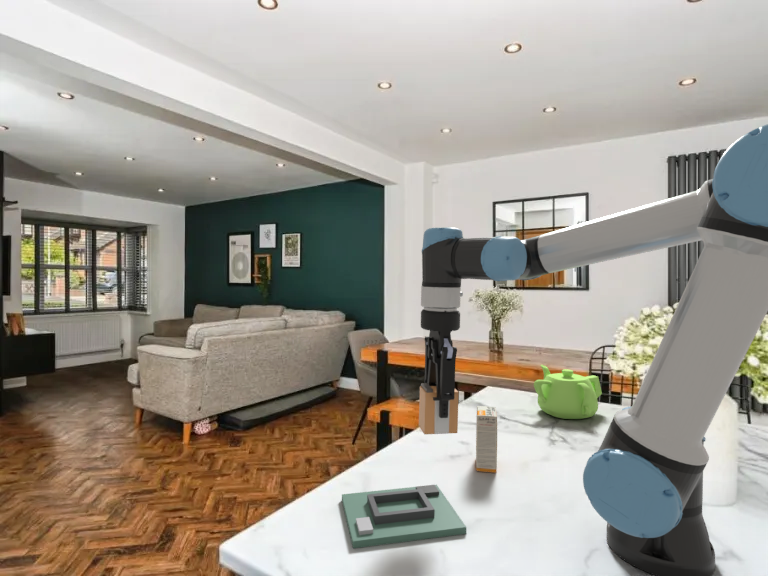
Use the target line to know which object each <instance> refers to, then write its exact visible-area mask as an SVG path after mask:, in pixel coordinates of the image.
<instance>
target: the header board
mask: <svg viewBox="0 0 768 576" xmlns="http://www.w3.org/2000/svg"><path fill="white" fill-rule="evenodd" d="M341 502H342V507H343V512H344V515H345V516H344V517H345V520H346V524H347V528H348V532H349V536H350V541H351V542H350V543H351V545H352V549H359V548H360V549H361V548H365V547H366V548H367V547H374V546H375V547H376V546H380V545H382V546H383V545H389V544H396V543H397V544H398V543H405V542H411V541H412V542H413V541H420V540H429V539H435V538H442V537H452V536H460V535H467V526H466V524H465V522H463V520H462V519H461V517H460V515H458V513H457V512H456V510H455V508H454V507H453V506H452V505H451V503H450V502H449V500H448V498H447V497H446V496H445V495H444V492H442V490H441V488H440V487H439V486H438V484H429V485H428V484H427V485H420V486H419V485H418V486H411V487H410V486H409V487H402V488H401V487H399V488H390V489H380V490H372V491H371V490H370V491H362V492H361V491H360V492H353V493H344V494H343V493H342V494H341Z"/></svg>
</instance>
